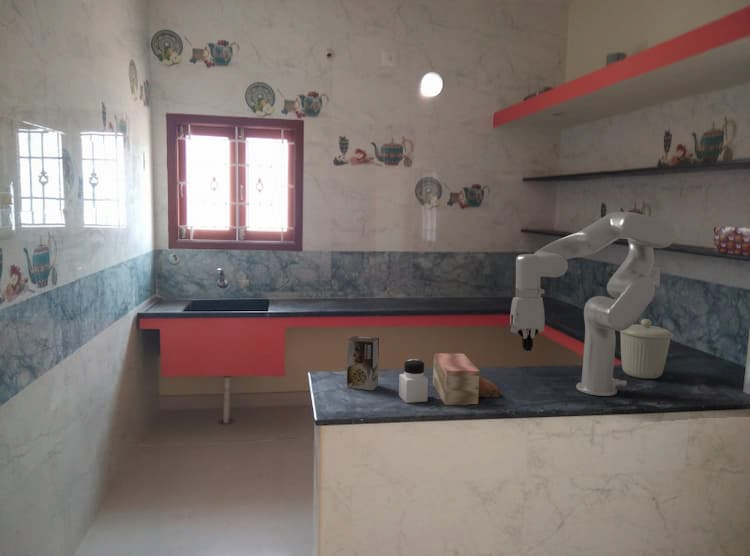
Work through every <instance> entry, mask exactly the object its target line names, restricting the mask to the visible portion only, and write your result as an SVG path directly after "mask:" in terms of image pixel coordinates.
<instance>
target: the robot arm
mask: <svg viewBox="0 0 750 556" xmlns="http://www.w3.org/2000/svg"><path fill="white" fill-rule="evenodd" d="M620 239H622V240H627V242H628V254H627V255H626V258H625V260H624V261H623V262H622V264H620V266H619V267H618V268H617V270H615V272H614V273H613V275H612V276H611V277H610V279H608V281H607V285H606V291H607V293H608V294H609V295H610V296H611V297H609V296H605V295H603V296H602V295H597V296H592V297H590V298H589V299H588V300H587V301H586V302H585V304H584V309H583V319H584V330H585V331H584V346H583V357H582V358H583V360H582V369H581V371H582V373H581V381H580V382H578V383H577V384H576V390H578V391H579V392H581V393H584V394H588V395H591V396H592V395H593V396H600V397H602V396H603V397H611V396H614V395H616V394H617V393H618V389H617V388H618V387H627V386H628V383H627V380H620V379H619V378H614V369H615V368H614V367H615V354H616V353H615V352H616V344H617V342H616V341H617V339H616V337H617V336H616V331H617V332H620V331H623V330H626V329H628V328H629V327H630V326H631V325H634V323H635V322H636V321H637V320H638V318H639V317H640V316H641V315H642V313H643V312H644V311H645V310H646V309H647V307H648V306H649V304H650V303H651V301H652V300H653V299H654V296H655V292H656V286H655V282H654V280H653V279H652V278H651V277H650V276H648V275H649V274H650V273H651V271H652V269H653V267H654V264H655V255H654V248H656V249H664V248H667V247H669V246H671V245H672V244H673V242H674V241H675V239H676V230H675V228H674V226H673V225H672V224H671V223H669V222H668V221H665V220H663V219H662V220H661V219H658V218H655V217H652V216H648V215H645V214H641V213H638V212H632V211H615V212H610V213H608V214H606V215H605V216H603V217H601V218H599V219H598V220H596V221H595V222H593V223H591V224H589V225H588V226H585V227H584V228H583V229H581V230H580V231H578V232H575V233H571V234H569V235H567V236H564V237H562V238H559V239H557V240H554V241H552V242H550V243H548V244H547V245H545V246H543V247H542V248H540V249H538V250H536V251H535V252H534V253H532V254H531V253H525V254H519V255H517V256H516V258H515V296H513V297H512V300H511V306H510V315H509V324H510V325H509V326H511V327H510V332H511V333H513V334H518V335H519V336H520V337H521V346H522V349H523V350H524V352H528V351H529V352H532V348H533V347H534V338H535V337H536V335H538V333H542V332H544V331H545V323H546V322H545V321H546V320H545V306H544V301H543V297H542V294H545V289H542V288H541V278H542V277H545V278H546V277H547V278H559V277H561V276H563V275H565V273H566V272H567V271H568V268H569V262H568V260H569V259H570V260H572V259H574V258H583V257H587V256H591V255H595V254H596V253H598V252H599V251H601V250H602V249H604V248H606V247H608V246H609V245H611V244H613V243H614V242H616V241H618V240H620Z"/></svg>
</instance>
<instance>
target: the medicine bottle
mask: <svg viewBox="0 0 750 556" xmlns="http://www.w3.org/2000/svg"><path fill="white" fill-rule="evenodd" d="M403 368H404V369H403V371H404V372H403V373H399V376H398V380H399V381H398V396H399V397H400V398H401V400H403V402H405V404H410V403H424V402H425V403H426V402H429V401H428V398H429V381H430V380H429V378H428V377H426V376H425V375H424V374H425V363H424V361H422V360H419V359H415V358H414V359H408V360H405V361H404V366H403Z"/></svg>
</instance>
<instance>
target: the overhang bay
mask: <svg viewBox="0 0 750 556" xmlns="http://www.w3.org/2000/svg"><path fill="white" fill-rule="evenodd" d="M432 370H433V371H432V372H433V374H432V375H433V376H432V385H433V386H434V388H435V390H436V391H437V393H438V395H439V397H440V398H441V401H442V402H443V403H444V405H445V406H449V405H450V406H451V405H453V406H455V405H456V406H470V405H469V404H478V405H479V397H478V393H479V377H480V372H481V371H480V370H479V368H477V366H476V365H474V363H473V362H472V361H471V360H470V359H469V357H467V356H466V354H464V353H437V352H436V353H433V369H432ZM467 404H468V405H467Z"/></svg>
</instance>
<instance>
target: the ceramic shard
mask: <svg viewBox="0 0 750 556" xmlns="http://www.w3.org/2000/svg"><path fill="white" fill-rule="evenodd" d="M502 393H503V392H501V390H500V388H499V386H497V385H496V384H494V383H492V382H491V381H490V380H489V379H487V378H485V377H480V376H479V393H478V398H481V397H483V398H500V397H501V396H502ZM499 396H500V397H499Z"/></svg>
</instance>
